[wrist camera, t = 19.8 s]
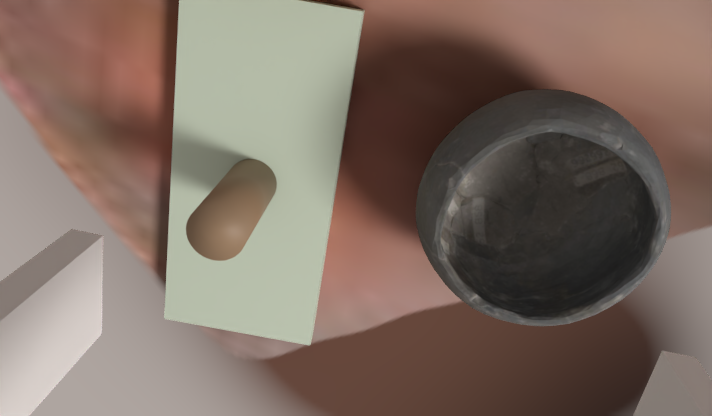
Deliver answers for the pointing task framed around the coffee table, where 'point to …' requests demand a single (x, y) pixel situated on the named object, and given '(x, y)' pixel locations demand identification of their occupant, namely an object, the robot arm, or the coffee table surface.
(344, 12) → the lid
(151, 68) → the coffee table surface
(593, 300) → the bowl
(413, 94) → the coffee table surface
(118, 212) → the coffee table surface
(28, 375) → the robot arm
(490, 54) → the coffee table surface
